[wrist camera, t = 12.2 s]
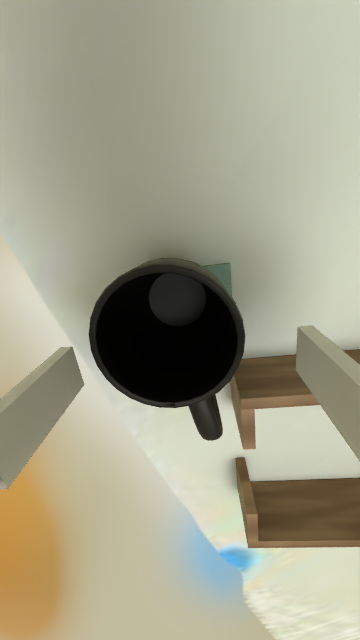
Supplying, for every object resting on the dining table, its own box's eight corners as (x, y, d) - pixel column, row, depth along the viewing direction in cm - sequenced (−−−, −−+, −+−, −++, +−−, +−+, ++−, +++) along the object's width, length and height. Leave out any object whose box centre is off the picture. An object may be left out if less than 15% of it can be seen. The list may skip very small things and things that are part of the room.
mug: (166, 382, 24) (149, 468, 15) (117, 270, 21) (58, 296, 12) (245, 360, 23) (278, 440, 14) (207, 236, 19) (219, 237, 10)
